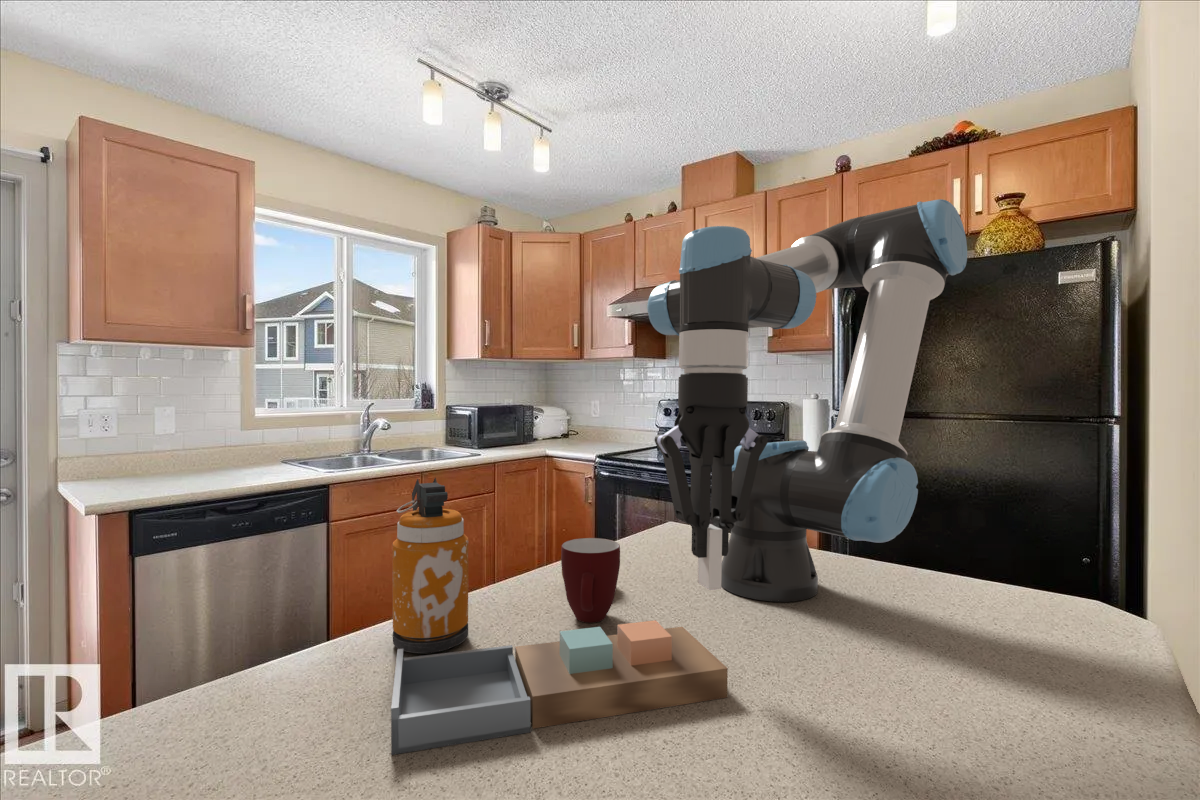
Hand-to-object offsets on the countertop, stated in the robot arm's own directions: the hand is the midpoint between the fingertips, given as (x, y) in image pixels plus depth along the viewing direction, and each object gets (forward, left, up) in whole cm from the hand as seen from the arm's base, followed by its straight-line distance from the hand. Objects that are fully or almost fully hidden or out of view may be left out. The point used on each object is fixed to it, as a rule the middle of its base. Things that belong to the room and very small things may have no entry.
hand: (709, 585), depth 65 cm
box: (+27, 0, -10) cm, 29 cm away
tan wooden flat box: (+11, 0, -10) cm, 14 cm away
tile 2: (+8, 0, -7) cm, 10 cm away
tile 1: (+14, 0, -7) cm, 16 cm away
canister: (+30, -18, -10) cm, 36 cm away
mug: (+9, -18, -10) cm, 22 cm away
